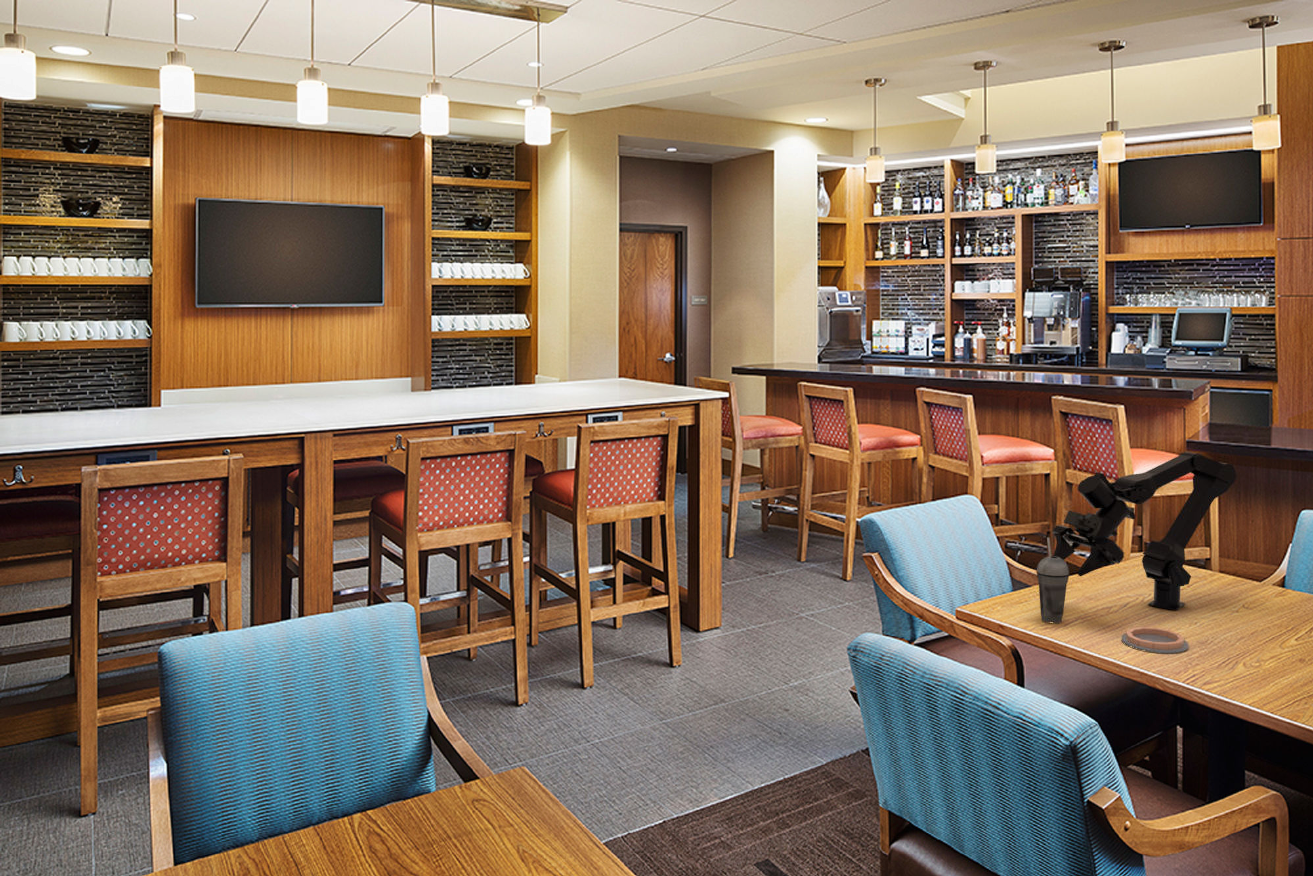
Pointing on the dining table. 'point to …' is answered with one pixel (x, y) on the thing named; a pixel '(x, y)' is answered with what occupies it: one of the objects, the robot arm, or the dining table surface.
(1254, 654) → the dining table surface
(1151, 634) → the cup holder
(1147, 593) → the dining table surface
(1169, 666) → the dining table surface
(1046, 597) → the beverage cup
